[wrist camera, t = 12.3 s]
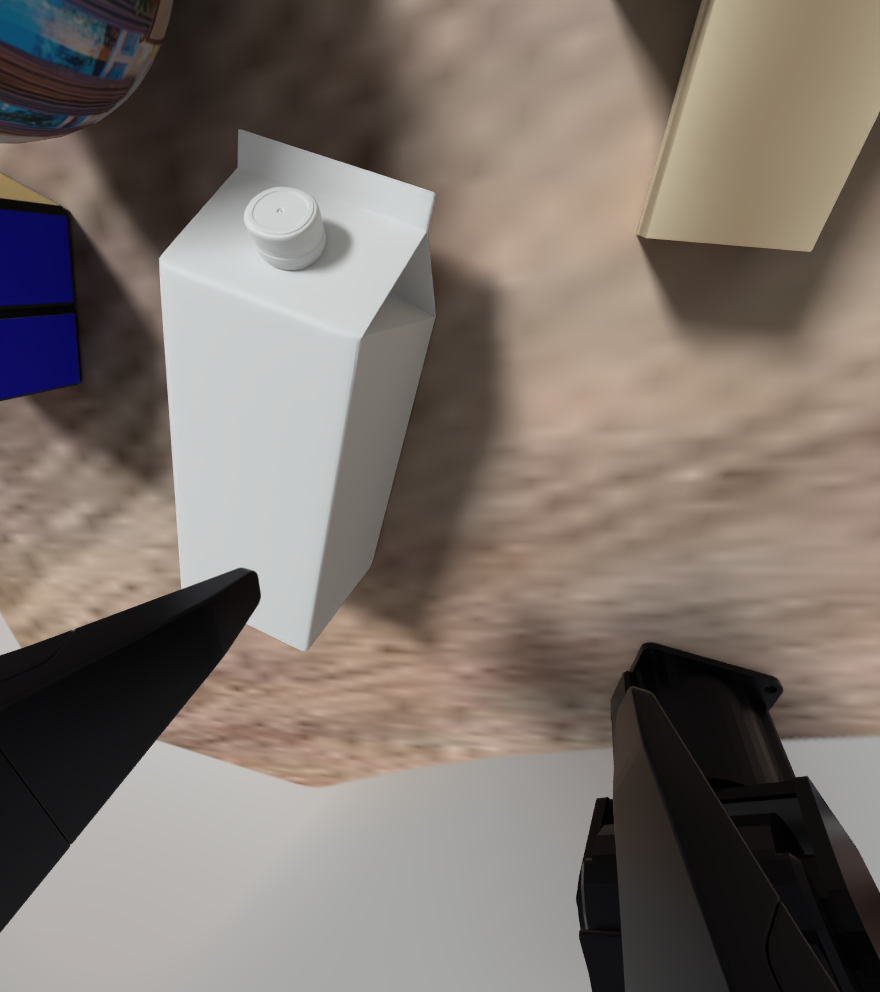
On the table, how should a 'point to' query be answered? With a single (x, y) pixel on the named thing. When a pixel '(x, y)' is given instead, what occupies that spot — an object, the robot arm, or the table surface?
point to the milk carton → (293, 374)
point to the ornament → (72, 61)
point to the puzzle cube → (35, 295)
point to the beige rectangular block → (765, 122)
